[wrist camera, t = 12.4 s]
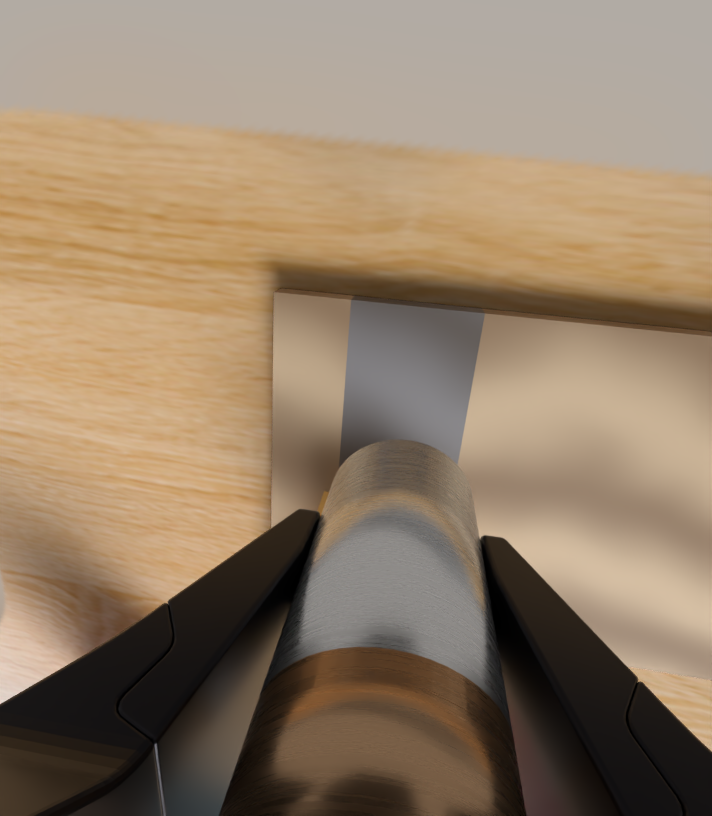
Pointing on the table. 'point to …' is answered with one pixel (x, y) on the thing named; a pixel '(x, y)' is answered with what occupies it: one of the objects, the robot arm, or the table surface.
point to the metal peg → (385, 659)
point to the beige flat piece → (525, 445)
